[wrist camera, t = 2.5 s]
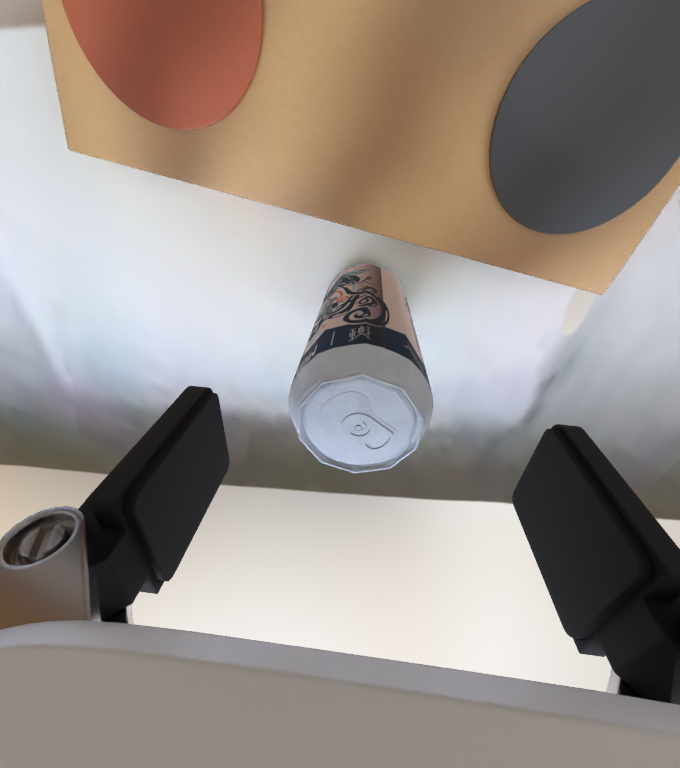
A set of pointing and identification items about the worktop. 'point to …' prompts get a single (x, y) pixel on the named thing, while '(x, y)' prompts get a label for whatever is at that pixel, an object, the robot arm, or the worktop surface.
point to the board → (396, 115)
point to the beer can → (362, 375)
